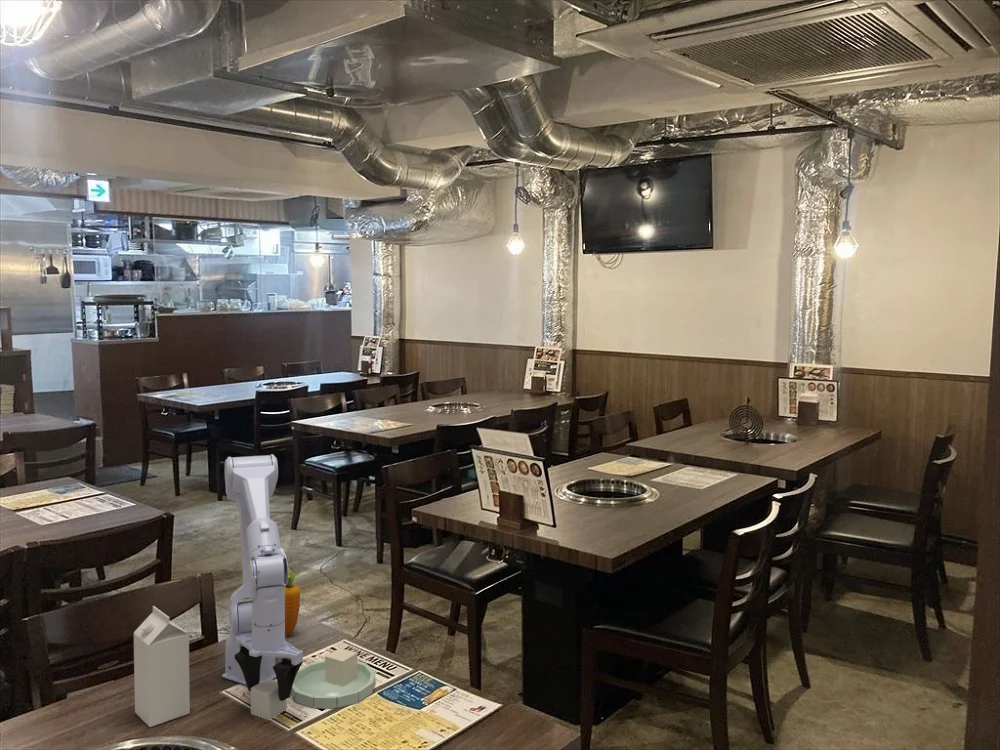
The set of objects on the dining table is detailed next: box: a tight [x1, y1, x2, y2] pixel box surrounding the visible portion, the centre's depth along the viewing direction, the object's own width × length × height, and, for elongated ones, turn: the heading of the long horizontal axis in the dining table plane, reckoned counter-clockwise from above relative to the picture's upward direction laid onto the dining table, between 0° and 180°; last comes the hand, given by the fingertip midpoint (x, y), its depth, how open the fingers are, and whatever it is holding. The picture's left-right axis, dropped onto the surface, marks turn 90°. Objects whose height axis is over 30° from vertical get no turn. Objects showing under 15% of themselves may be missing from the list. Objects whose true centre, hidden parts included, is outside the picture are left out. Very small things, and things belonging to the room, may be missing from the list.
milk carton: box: [133, 605, 191, 728], centre depth 141 cm, size 7×7×19 cm
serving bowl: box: [290, 659, 376, 709], centre depth 153 cm, size 16×16×2 cm
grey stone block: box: [250, 678, 287, 721], centre depth 143 cm, size 4×4×5 cm
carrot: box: [284, 568, 301, 636], centre depth 175 cm, size 5×5×15 cm
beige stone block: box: [324, 647, 358, 686], centre depth 155 cm, size 4×4×5 cm
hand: (268, 693), depth 143 cm, fingers open, 7 cm apart
